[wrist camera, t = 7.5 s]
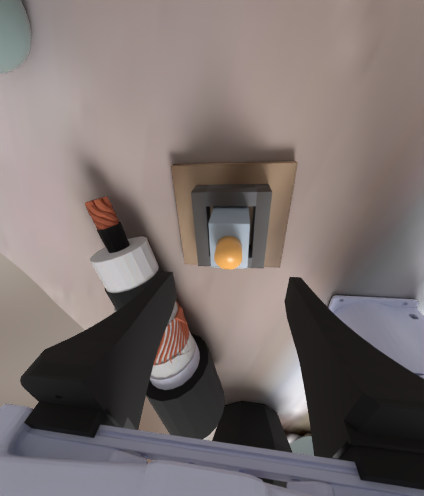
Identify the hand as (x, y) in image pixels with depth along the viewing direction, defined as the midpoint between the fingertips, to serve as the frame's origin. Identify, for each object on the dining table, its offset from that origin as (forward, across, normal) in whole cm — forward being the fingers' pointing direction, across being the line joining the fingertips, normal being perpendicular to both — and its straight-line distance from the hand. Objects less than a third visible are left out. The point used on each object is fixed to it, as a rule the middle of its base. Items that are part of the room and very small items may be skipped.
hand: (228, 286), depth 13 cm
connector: (+9, 0, -1) cm, 9 cm away
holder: (+10, 0, 0) cm, 10 cm away
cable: (+11, +10, +14) cm, 20 cm away
